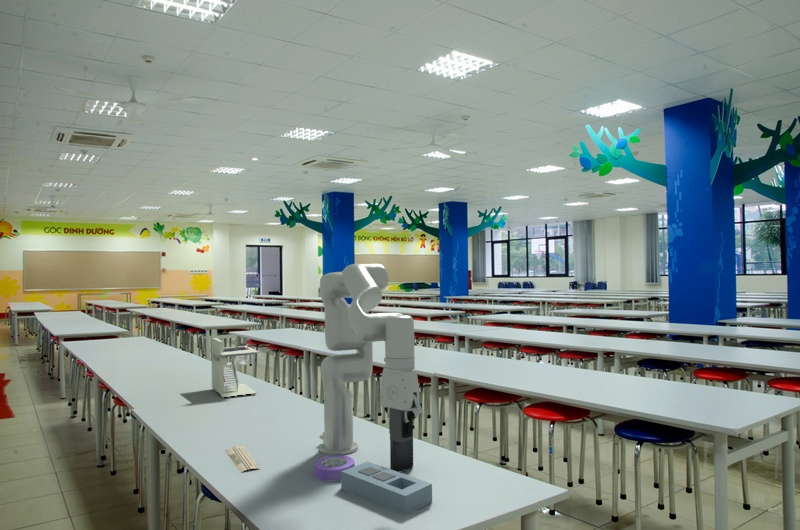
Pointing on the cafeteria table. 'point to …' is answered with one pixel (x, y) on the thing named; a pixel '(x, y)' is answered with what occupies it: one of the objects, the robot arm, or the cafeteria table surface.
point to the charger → (397, 426)
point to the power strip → (387, 487)
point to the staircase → (221, 362)
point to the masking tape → (332, 467)
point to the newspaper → (241, 458)
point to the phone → (401, 455)
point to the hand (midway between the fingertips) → (401, 434)
